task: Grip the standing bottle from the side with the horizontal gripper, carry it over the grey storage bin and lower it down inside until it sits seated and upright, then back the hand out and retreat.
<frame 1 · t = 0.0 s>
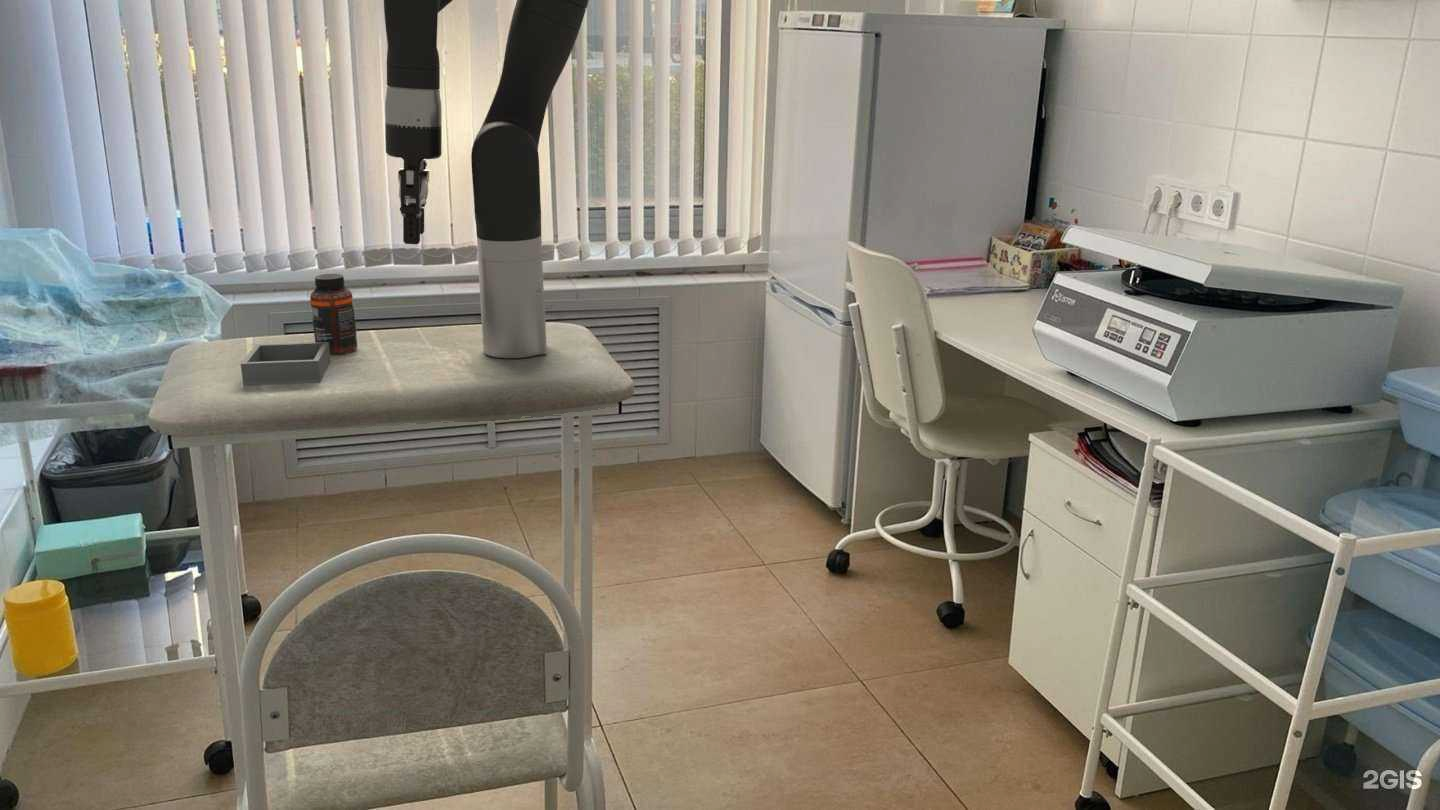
hand: (414, 238, 162), 17 cm above the table, tool pointing down, fingers open, 8 cm apart
grey storage bin: (288, 373, 158), on the table
supplement bottle: (337, 352, 169), on the table
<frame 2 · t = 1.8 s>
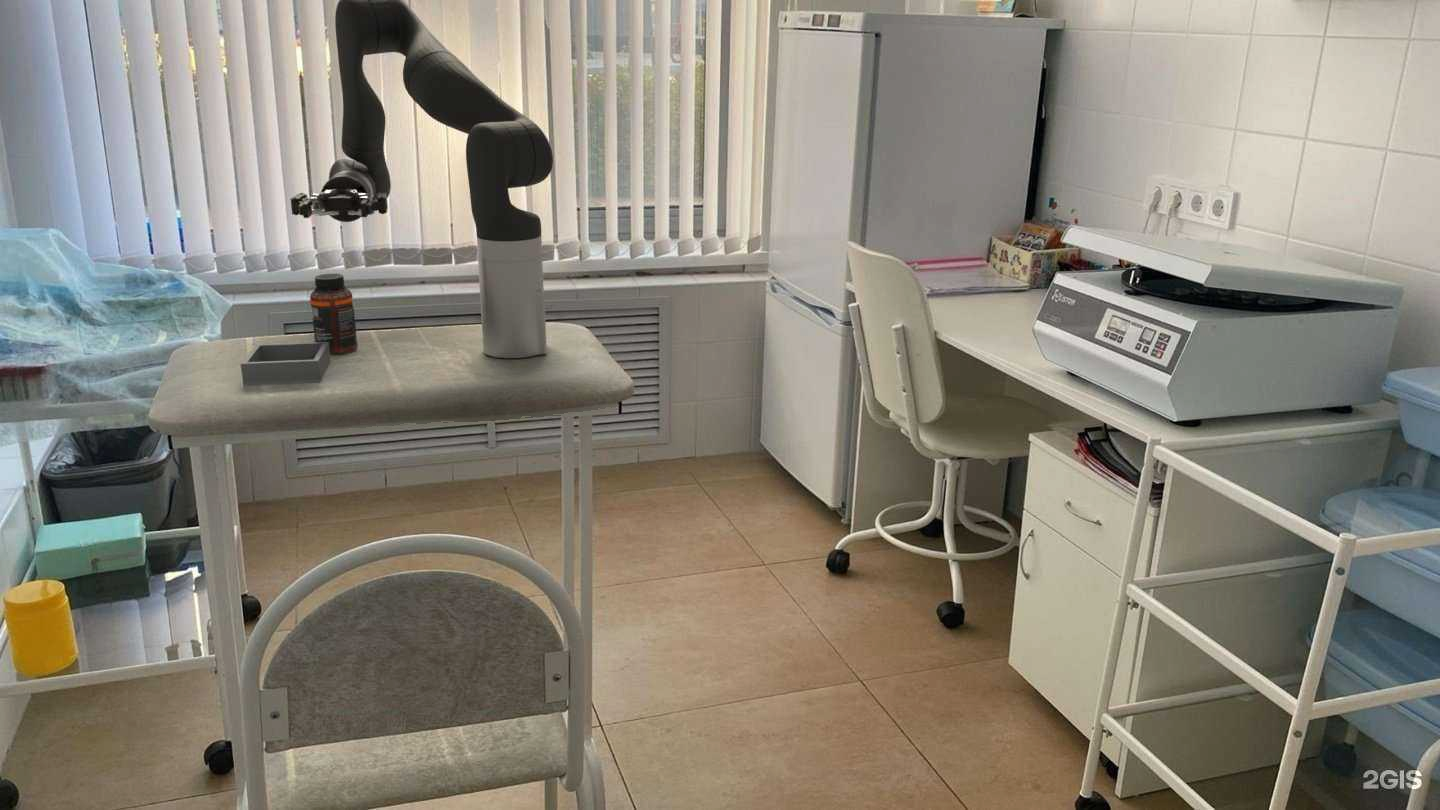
hand: (334, 210, 174), 19 cm above the table, tool horizontal, fingers open, 8 cm apart
nothing on the table moved.
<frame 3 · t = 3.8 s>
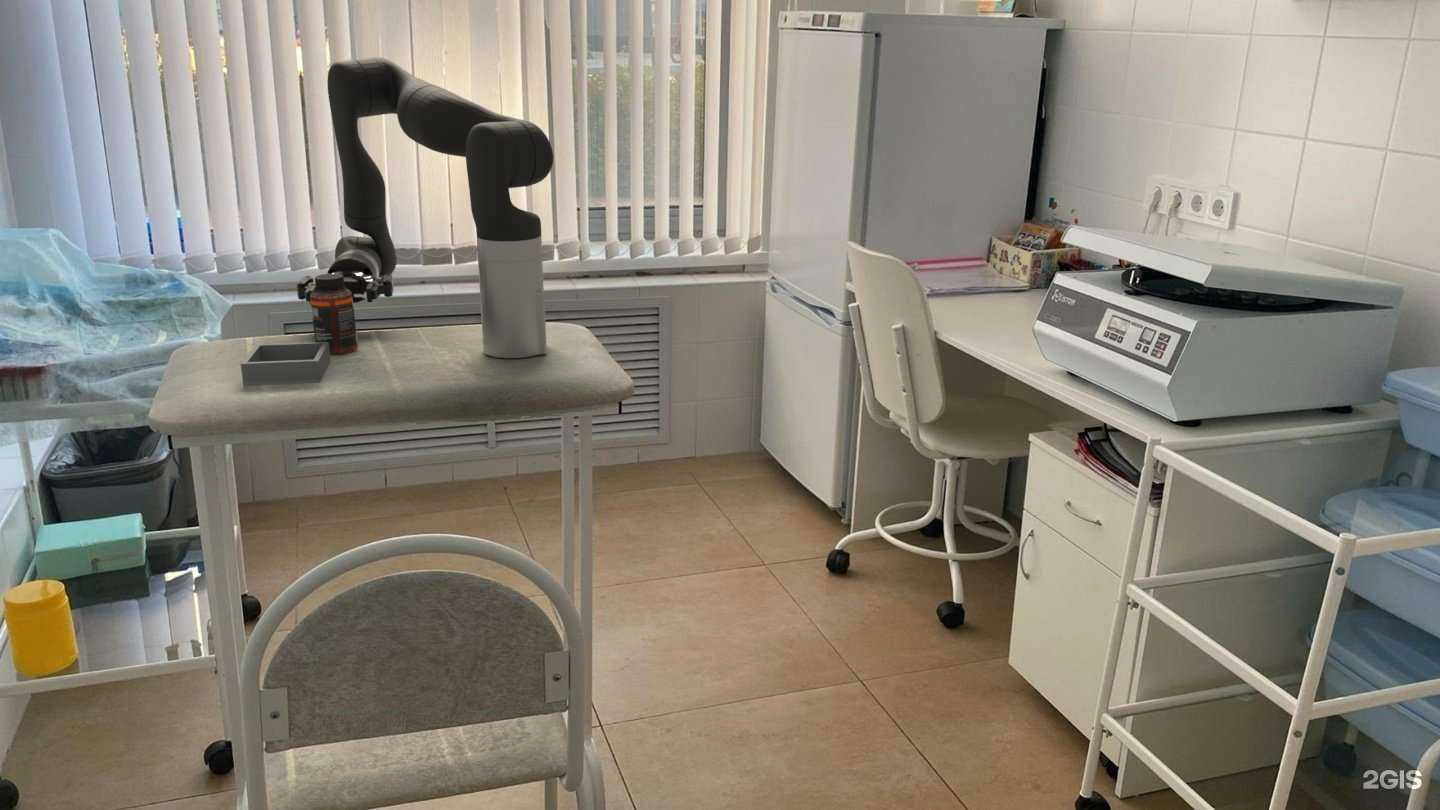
hand: (340, 296, 174), 6 cm above the table, tool horizontal, fingers open, 8 cm apart
nothing on the table moved.
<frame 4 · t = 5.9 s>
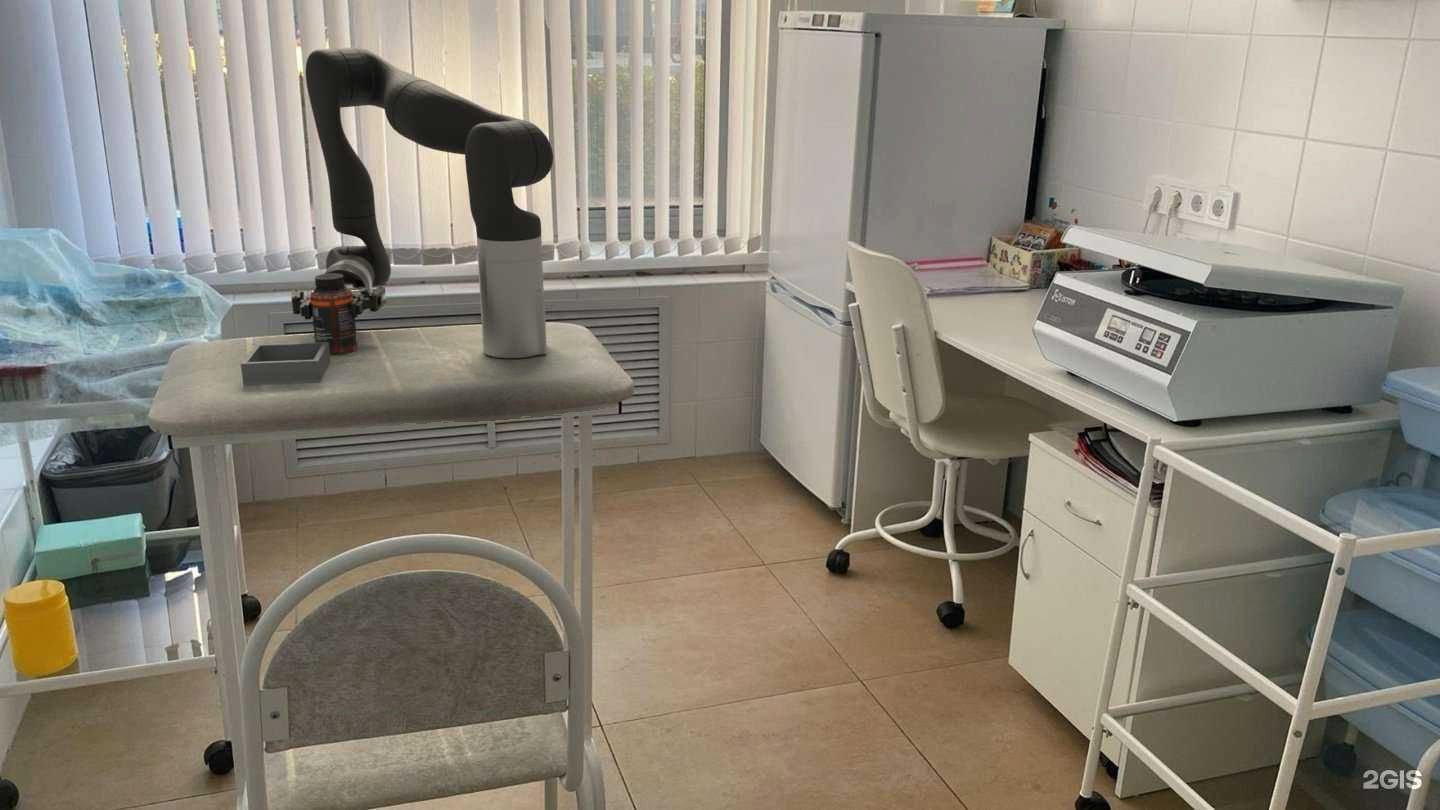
hand: (330, 311, 165), 7 cm above the table, tool horizontal, fingers closed on supplement bottle, 6 cm apart
supplement bottle: (337, 352, 169), on the table, touching gripper
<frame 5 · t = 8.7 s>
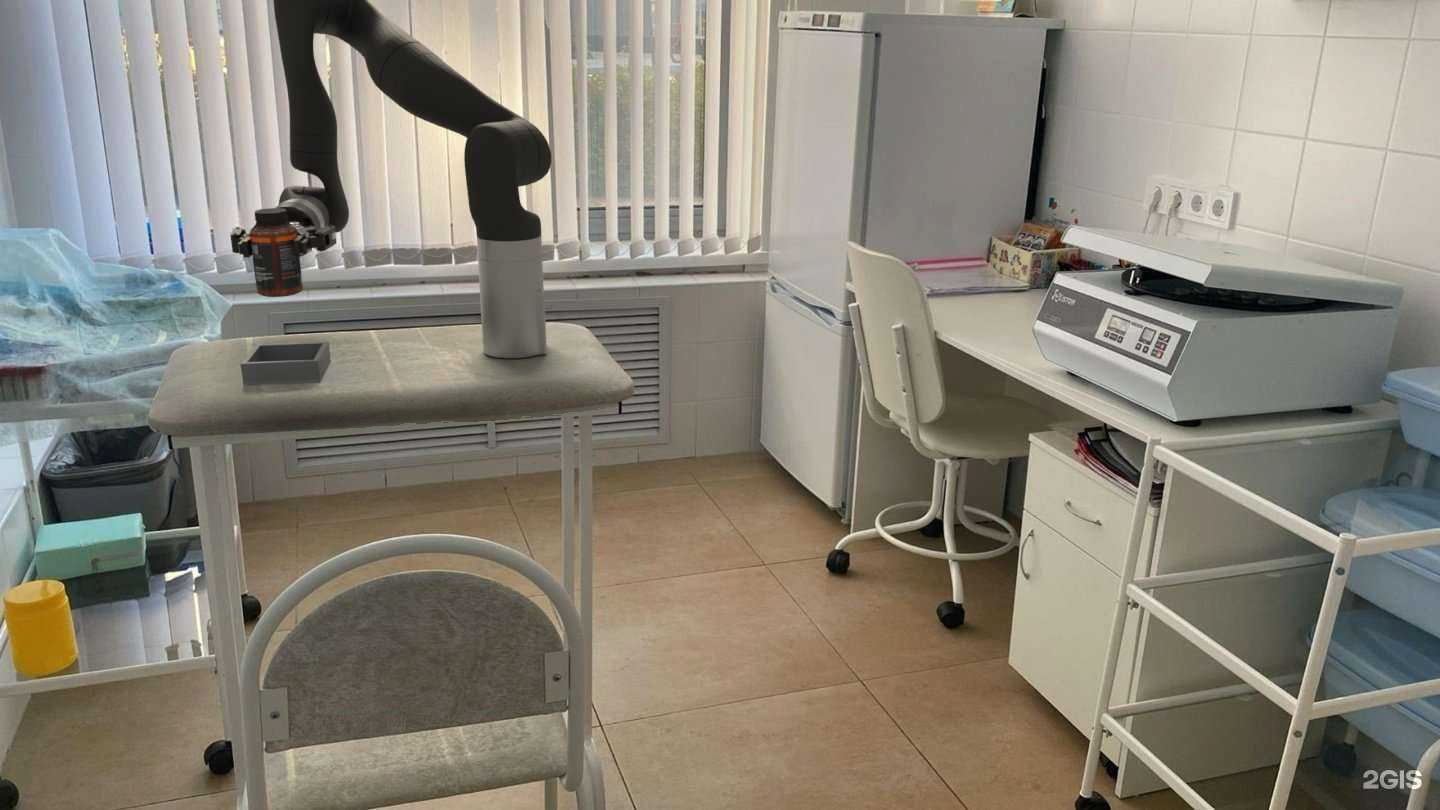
hand: (271, 249, 151), 18 cm above the table, tool horizontal, fingers closed on supplement bottle, 6 cm apart
supplement bottle: (280, 294, 155), point 11 cm above the table, touching gripper
when the fingers open (8 cm above the table, at t = 11.6 s): supplement bottle drops 1 cm, resting on grey storage bin.
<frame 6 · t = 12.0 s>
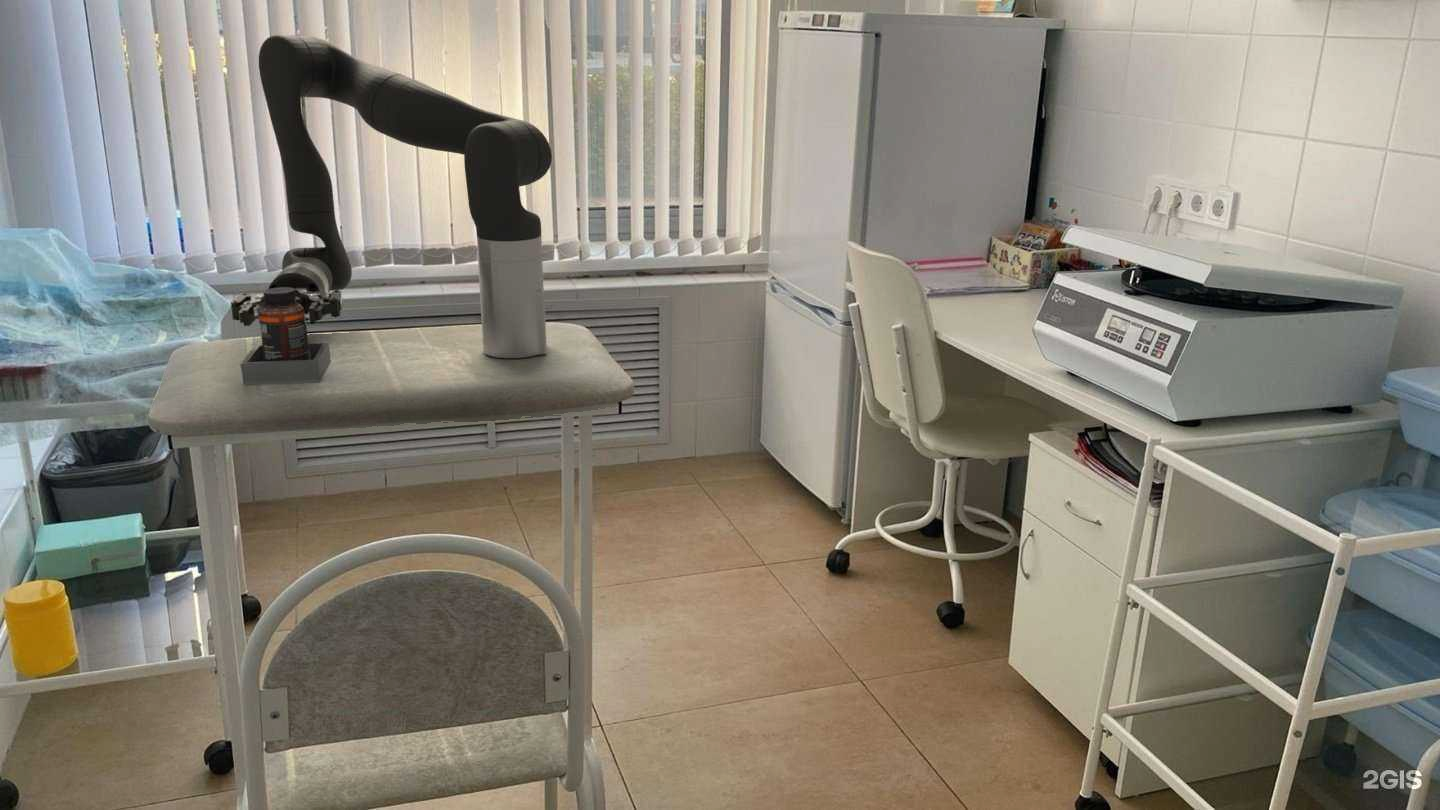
hand: (279, 317, 154), 8 cm above the table, tool horizontal, fingers open, 8 cm apart
supplement bottle: (288, 371, 158), resting on grey storage bin
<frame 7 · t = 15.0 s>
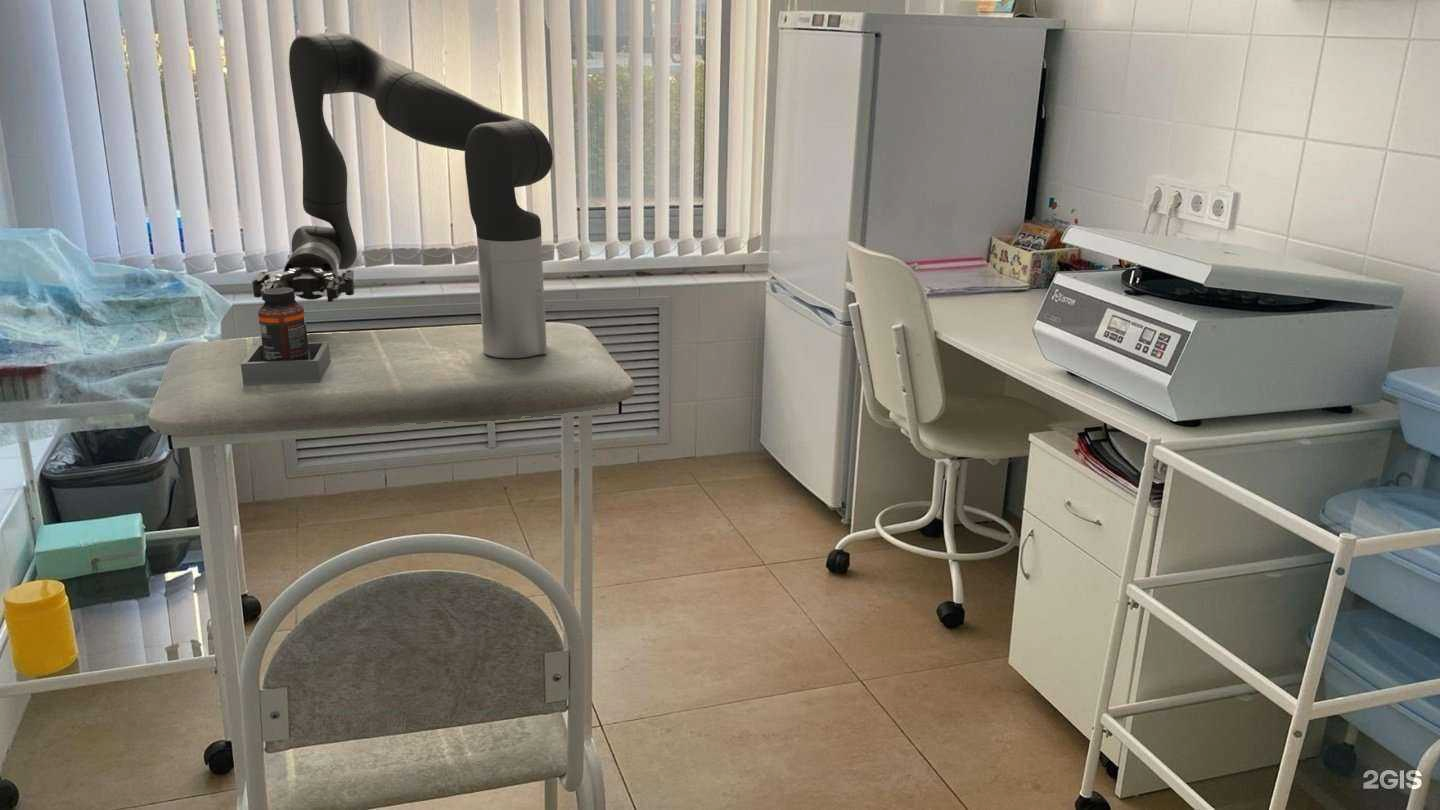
hand: (299, 295, 166), 8 cm above the table, tool horizontal, fingers open, 8 cm apart
nothing on the table moved.
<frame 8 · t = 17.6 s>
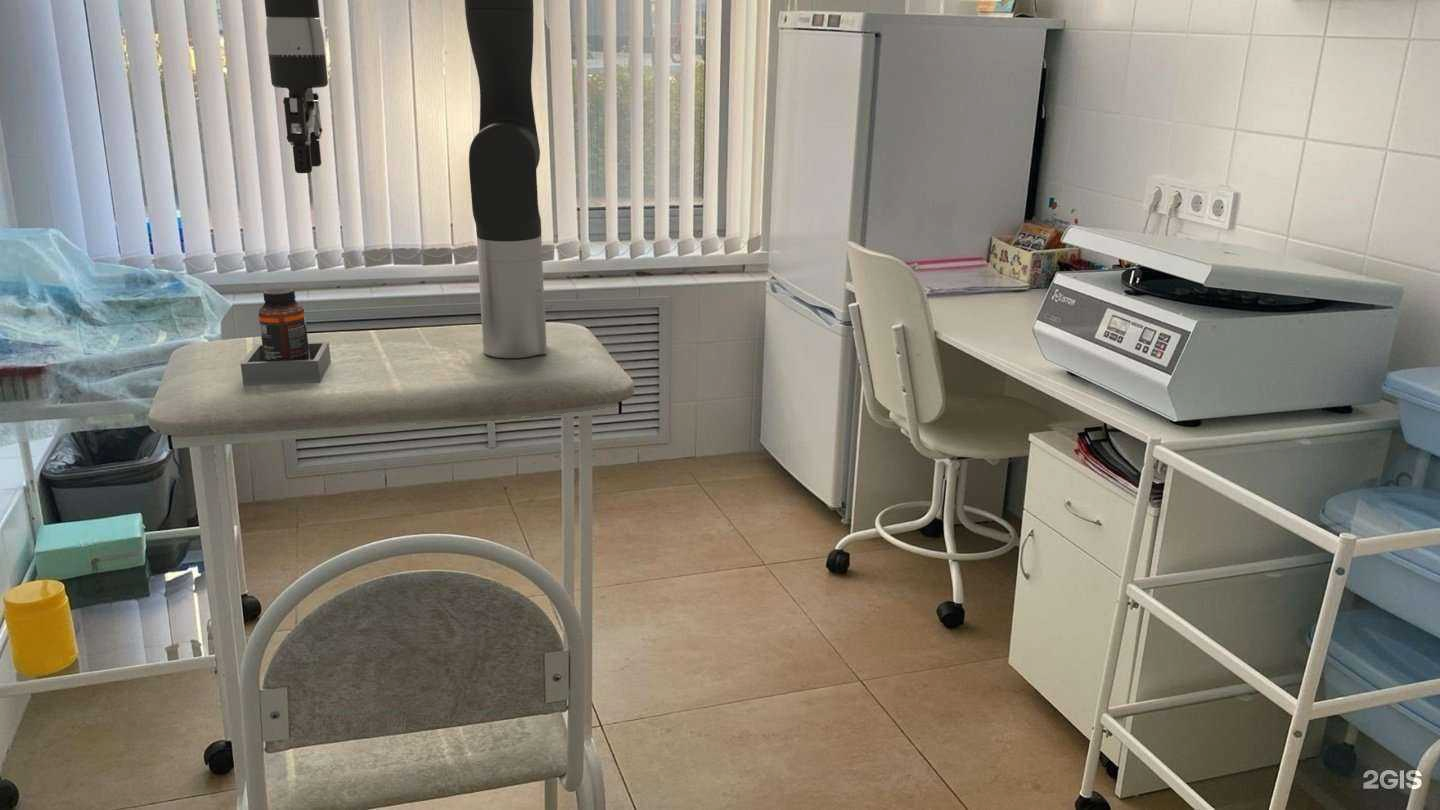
hand: (308, 169, 164), 26 cm above the table, tool pointing down, fingers open, 8 cm apart
nothing on the table moved.
at the end: supplement bottle 0.1 cm off-centre on the grey storage bin, point 0.2 cm above the grey storage bin's base; supplement bottle tilted 0°; the gripper is holding nothing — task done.
